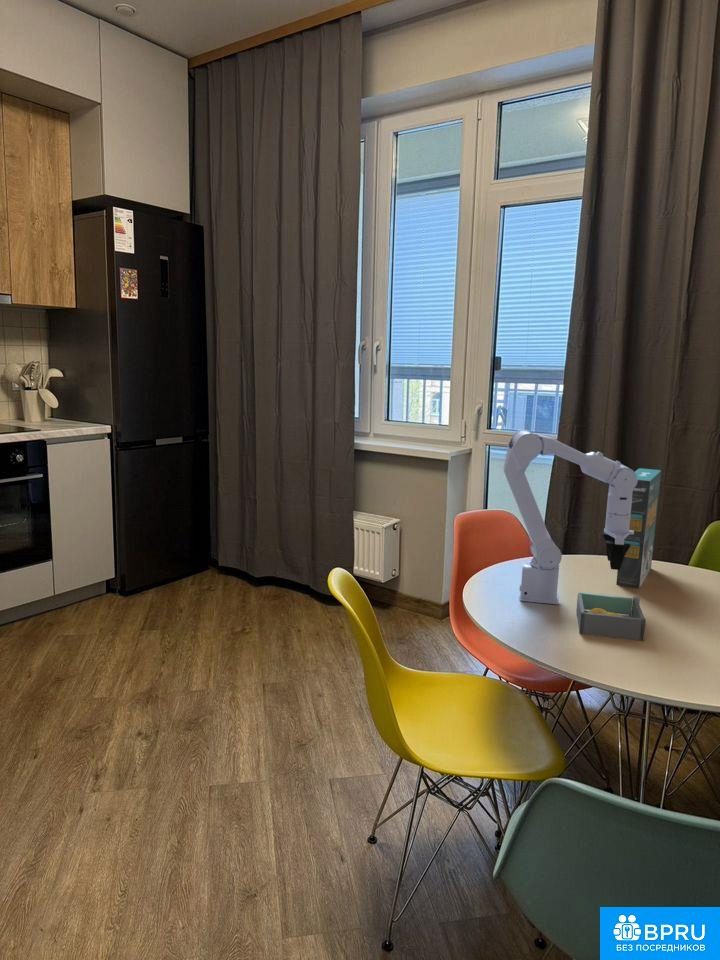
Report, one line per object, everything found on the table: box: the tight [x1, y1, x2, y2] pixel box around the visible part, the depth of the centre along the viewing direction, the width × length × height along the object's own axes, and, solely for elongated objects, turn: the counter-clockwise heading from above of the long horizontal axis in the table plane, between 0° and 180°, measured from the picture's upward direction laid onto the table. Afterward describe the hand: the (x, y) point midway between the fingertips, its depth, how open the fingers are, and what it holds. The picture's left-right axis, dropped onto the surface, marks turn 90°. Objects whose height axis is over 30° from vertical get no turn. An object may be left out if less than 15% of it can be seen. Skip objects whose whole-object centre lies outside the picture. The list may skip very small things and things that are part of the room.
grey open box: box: [575, 593, 646, 642], centre depth 159 cm, size 15×16×5 cm
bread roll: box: [587, 608, 622, 616], centre depth 158 cm, size 8×9×4 cm
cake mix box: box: [615, 468, 662, 589], centre depth 193 cm, size 22×6×30 cm, turn 149°
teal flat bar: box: [578, 591, 641, 616], centre depth 166 cm, size 14×2×4 cm, turn 72°
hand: (613, 564), depth 173 cm, fingers open, 7 cm apart
